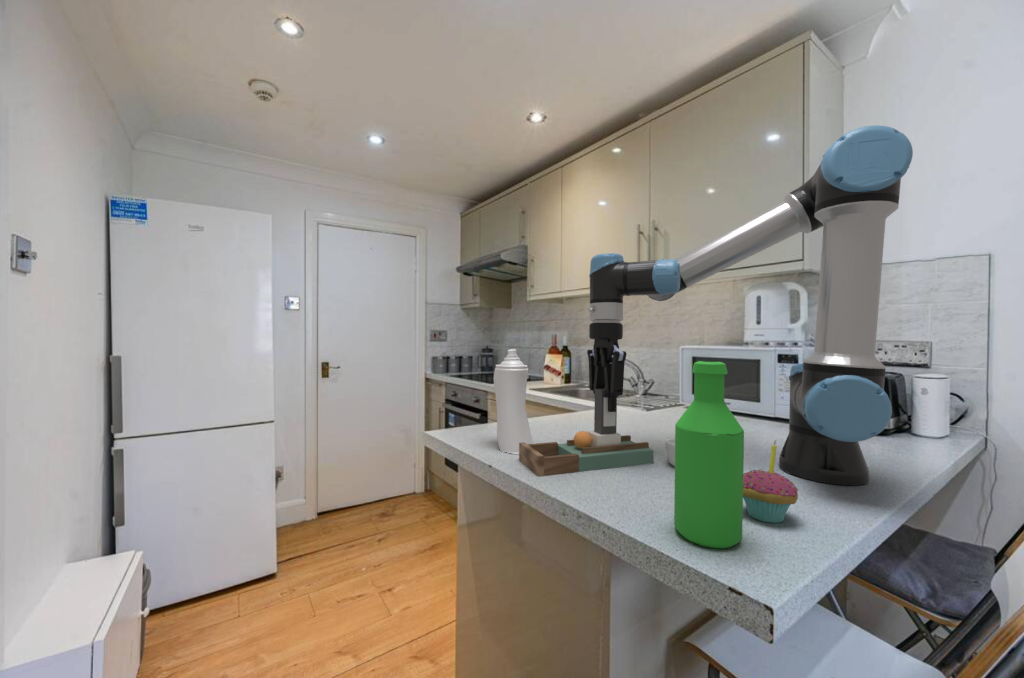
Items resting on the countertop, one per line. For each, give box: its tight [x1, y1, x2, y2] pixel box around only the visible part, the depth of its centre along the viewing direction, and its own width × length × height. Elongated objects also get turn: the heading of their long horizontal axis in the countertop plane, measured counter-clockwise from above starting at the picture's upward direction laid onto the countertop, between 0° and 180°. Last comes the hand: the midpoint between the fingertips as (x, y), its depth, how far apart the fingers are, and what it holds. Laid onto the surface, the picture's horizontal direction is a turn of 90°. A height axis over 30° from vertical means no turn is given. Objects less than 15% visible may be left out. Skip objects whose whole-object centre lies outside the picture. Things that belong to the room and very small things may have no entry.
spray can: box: [493, 348, 534, 455], centre depth 104 cm, size 12×11×25 cm
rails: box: [566, 434, 650, 454], centre depth 95 cm, size 8×17×1 cm, turn 110°
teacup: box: [665, 437, 675, 468], centre depth 90 cm, size 10×8×5 cm
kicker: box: [585, 388, 622, 447], centre depth 94 cm, size 5×6×13 cm
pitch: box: [558, 440, 654, 472], centre depth 94 cm, size 11×19×3 cm, turn 110°
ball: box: [573, 430, 592, 449], centre depth 93 cm, size 4×4×4 cm
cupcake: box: [743, 440, 799, 524], centre depth 65 cm, size 9×8×12 cm
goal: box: [518, 441, 580, 477], centre depth 90 cm, size 11×9×4 cm
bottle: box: [673, 360, 745, 549], centre depth 59 cm, size 9×9×25 cm
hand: (604, 423), depth 94 cm, fingers closed on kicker, 3 cm apart
